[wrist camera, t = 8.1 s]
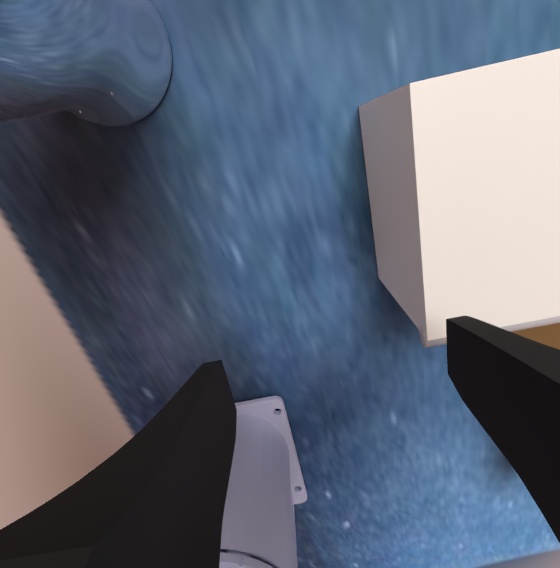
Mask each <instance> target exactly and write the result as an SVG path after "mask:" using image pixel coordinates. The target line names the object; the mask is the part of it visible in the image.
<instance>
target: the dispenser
mask: <svg viewBox="0 0 560 568" xmlns="http://www.w3.org/2000/svg"><path fill="white" fill-rule="evenodd" d="M358 107H359V115H360V124H361V132H362V141H363V149H364V158H365V166H366V175H367V183H368V192H369V200H370V209H371V217H372V226H373V234H374V243H375V251H376V260H377V268H378V277H379V279H380V280H381V282H382V283H383V284H384V286H385V287H386V288H387V289H388V291H389V292H390V293H391V295H392V296H393V297H394V298H395V300H396V301H397V302H398V304H399V305H400V306H401V307H402V309H403V310H404V311H405V313H406V314H407V315H408V316H409V318H410V319H411V320H412V322H413V323H414V324H415V325H416V327H417V328H418V330H419V337H420V340H421V343H422V345H423V346H424V347H425V348H427V347H432V346H438V345H443V344H447V336H446V319H449V318H454V317H460V316H465V315H466V316H469V317H473V318H476V319H478V320H481V321H484V322H486V323H489V324H492V325H494V326H497V327H499V328H502V329H504V330H507V331H510V332H513V331H518V330H524V329H529V328H534V327H540V326H545V325H550V324H556V323H560V49H556V50H552V51H547V52H543V53H539V54H534V55H530V56H526V57H522V58H517V59H513V60H509V61H504V62H500V63H496V64H491V65H487V66H483V67H478V68H474V69H470V70H465V71H461V72H457V73H452V74H448V75H444V76H439V77H435V78H431V79H426V80H422V81H418V82H413V83H409V84H407V85H405V86H403V87H400V88H398V89H396V90H394V91H391V92H389V93H387V94H385V95H382V96H380V97H378V98H376V99H373V100H371V101H369V102H367V103H364V104H362V105H360V106H358Z"/></svg>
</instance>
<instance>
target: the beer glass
mask: <svg viewBox="0 0 560 568" xmlns="http://www.w3.org/2000/svg"><path fill="white" fill-rule="evenodd" d="M171 70H172V53H171V46H170V41H169V37H168V33H167V30H166V27H165V25H164V22H163V20H162V18H161V16H160V14H159V13H158V11H157V9H156V8H155V6H154V5H153V3H152V2H151V1H150V0H0V123H5V122H13V121H19V120H24V119H29V118H34V117H39V116H44V115H48V114H53V113H57V112H61V111H69V112H71V113H72V114H74V115H76V116H78V117H80V118H82V119H85V120H87V121H89V122H92V123H95V124H99V125H104V126H124V125H129V124H132V123H135V122H137V121H139V120H141V119H143V118H145V117H146V116H147V115H149V114H150V113H151V112H152V111H153V110H154V109H155V108H156V107H157V106H158V105H159V103H160V102H161V100H162V98H163V97H164V95H165V93H166V90H167V87H168V84H169V81H170V76H171Z"/></svg>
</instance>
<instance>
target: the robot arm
mask: <svg viewBox="0 0 560 568" xmlns="http://www.w3.org/2000/svg"><path fill="white" fill-rule="evenodd" d="M446 336H447V364H448V375H449V376H450V378H451V380H452V382H453V384H454V386H455V388H456V389H457V391H458V393H459V394H460V396H461V398H462V400H463V401H464V403H465V404H466V405H467V407H468V408H469V409H470V411H471V412H472V413H473V415H474V416H475V418H476V419H477V420H478V422H479V423H480V424H481V426H482V427H483V428H484V429H485V431H486V432H487V433H488V435H489V436H490V437H491V439H492V440H493V441H494V443H495V444H496V445H497V447H498V448H499V449H500V451H501V452H502V453H503V455H504V456H505V457H506V458H507V460H508V461H509V462H510V464H511V465H512V467H513V468H514V469H515V471H516V472H517V474H518V475H519V477H520V478H521V480H522V481H523V483H524V484H525V486H526V488H527V489H528V491H529V493H530V494H531V496H532V497H533V499H534V501H535V502H536V504H537V505H538V507H539V509H540V510H541V512H542V514H543V515H544V517H545V519H546V520H547V522H548V524H549V525H550V527H551V529H552V531H553V532H554V534H555V536H556V537H557V539H558V541H559V542H560V350H559V349H556V348H553V347H550V346H547V345H544V344H542V343H539V342H536V341H533V340H531V339H528V338H525V337H523V336H520V335H517V334H515V333H512V332H510V331H507V330H504V329H502V328H499V327H497V326H494V325H492V324H489V323H486V322H484V321H481V320H478V319H476V318H473V317H469V316H466V315H465V316H460V317H454V318H449V319H446ZM274 409H281V410H279V411H276V410H274ZM297 486H299V487H297ZM306 500H307V491H306V487H305V484H304V480H303V476H302V472H301V468H300V464H299V460H298V456H297V452H296V448H295V444H294V440H293V437H292V433H291V429H290V425H289V421H288V417H287V413H286V409H285V405H284V401H283V399H282V398H281V397H280V396H270V397H265V398H259V399H254V400H248V401H243V402H237V403H234V399H233V396H232V393H231V390H230V386H229V383H228V380H227V376H226V373H225V370H224V367H223V363H222V360H219V361H213V362H208V363H203V364H202V365H201V366H200V367H199V368H198V369H197V370H196V372H195V373H194V374H193V375H192V376H191V377H190V378H189V380H188V381H187V382H186V383H185V384H184V385H183V386H182V388H181V389H180V390H179V391H178V392H177V393H176V394H175V395H174V397H173V398H172V399H171V400H170V401H169V402H168V403H167V404H166V405H165V406H164V407H163V408H162V409H161V410H160V411H159V412H158V414H157V415H156V416H155V417H154V418H153V419H152V420H151V421H150V422H149V423H148V424H147V425H146V426H145V427H144V428H143V429H142V430H141V431H140V432H138V433H137V434H136V435H135V436H134V437H133V438H132V439H131V440H130V441H128V442H127V443H126V444H125V445H124V446H123V447H121V448H120V449H119V450H118V451H117V452H116V453H114V455H112V456H111V457H109V458H108V459H107V460H105V461H104V462H103V463H102V464H100V465H99V466H97V467H96V468H95V469H94V470H92V471H91V472H90V473H88V474H87V475H86V476H84V477H83V478H82V479H80V480H79V481H77V482H76V483H75V484H73V485H72V486H70V487H69V488H67V489H66V490H64V491H63V492H61V493H60V494H58V495H57V496H55V497H54V498H52V499H51V500H49V501H48V502H46V503H45V504H43V505H41V506H40V507H38V508H37V509H35V510H34V511H32V512H30V513H29V514H27V515H25V516H23V517H22V518H20V519H18V520H16V521H15V522H13V523H11V524H10V525H8V526H6V527H4V528H3V529H1V530H0V568H298V565H297V547H296V529H295V511H294V504H300V503H304V502H305V501H306Z"/></svg>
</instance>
